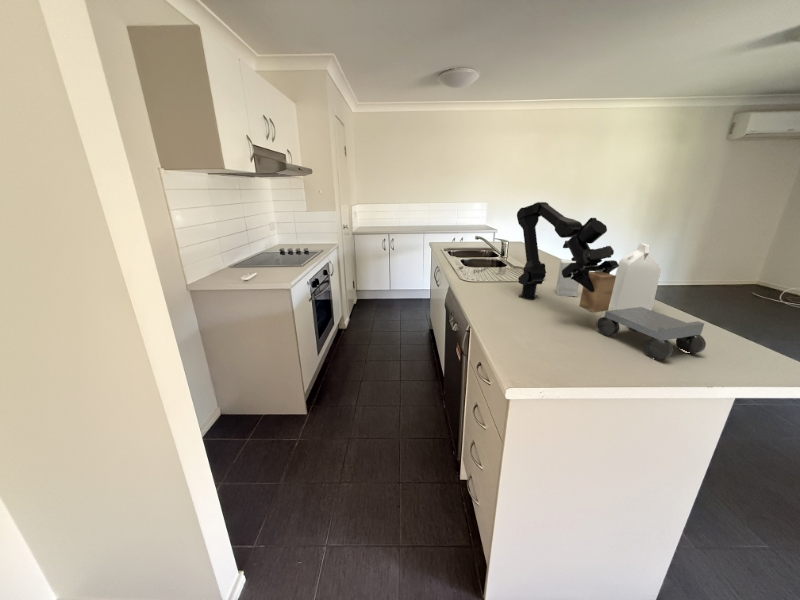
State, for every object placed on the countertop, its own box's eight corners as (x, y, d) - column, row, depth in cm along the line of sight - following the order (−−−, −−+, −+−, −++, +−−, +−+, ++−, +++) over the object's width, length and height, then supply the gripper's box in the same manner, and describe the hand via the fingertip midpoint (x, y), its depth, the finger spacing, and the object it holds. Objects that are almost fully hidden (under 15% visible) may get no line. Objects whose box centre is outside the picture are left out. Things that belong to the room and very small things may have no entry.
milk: (650, 316, 119) (670, 247, 110) (615, 312, 122) (632, 246, 114) (639, 306, 129) (656, 242, 121) (607, 303, 133) (621, 241, 124)
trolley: (595, 331, 106) (601, 304, 103) (629, 326, 110) (636, 300, 107) (662, 363, 86) (673, 332, 83) (701, 356, 90) (712, 326, 87)
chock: (579, 306, 109) (586, 272, 105) (593, 304, 111) (600, 271, 107) (593, 312, 104) (601, 276, 100) (607, 310, 105) (616, 275, 101)
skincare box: (574, 293, 145) (581, 260, 140) (577, 297, 139) (584, 263, 134) (554, 291, 148) (560, 258, 143) (556, 295, 142) (562, 261, 137)
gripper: (574, 238, 101) (596, 280, 94) (620, 236, 105) (643, 276, 99) (553, 257, 110) (571, 297, 104) (596, 255, 115) (615, 293, 109)
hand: (600, 290), depth 104 cm, fingers closed on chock, 6 cm apart
